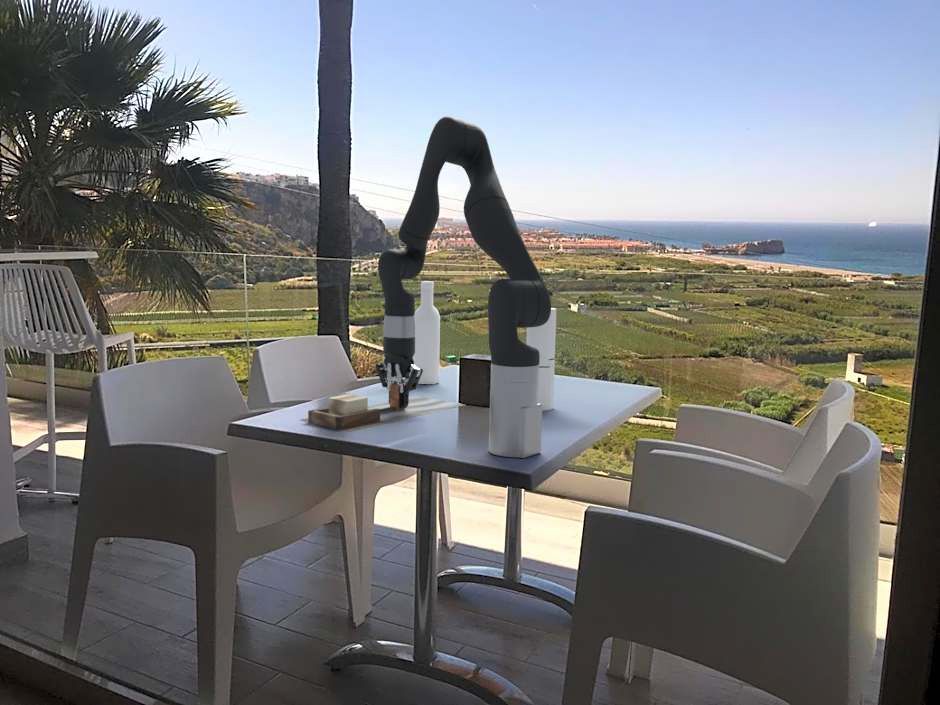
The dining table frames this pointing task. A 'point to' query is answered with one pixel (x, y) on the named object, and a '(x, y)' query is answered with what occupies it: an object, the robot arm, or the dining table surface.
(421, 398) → the lane rack
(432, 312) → the bottle
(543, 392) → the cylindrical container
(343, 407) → the rod-linked blocks
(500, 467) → the dining table surface
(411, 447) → the dining table surface
